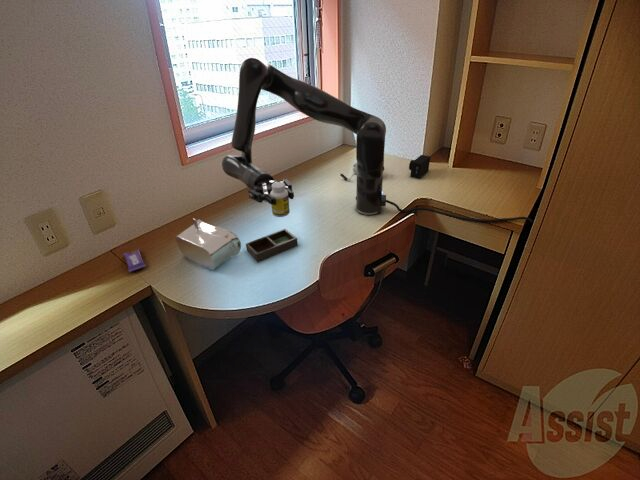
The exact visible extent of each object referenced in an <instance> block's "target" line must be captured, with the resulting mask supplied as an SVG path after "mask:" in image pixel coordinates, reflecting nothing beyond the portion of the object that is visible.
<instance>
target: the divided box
mask: <svg viewBox="0 0 640 480" xmlns="http://www.w3.org/2000/svg"><path fill="white" fill-rule="evenodd" d="M298 246H299V244H298V238H297V237H296V236H295V235H294V234H292V232H290V231H289V230H288V229H286V228H283V229H280V230H278V231H275V232H272V233H270V234H267V235H264V236H262V237H260V238H257V239H254V240H252V241H249V242H246V243H245V249H246V252H247V253H248V254H249V255H250V256H251V257H252V258H253V259H254V260H255V261H256V263H260V262H264V261H265V260H268V259H270V258H273V257H275V256H278V255H279V254H282V253H284V252H287V251H289V250H291V249H292V250H293V249H294V248H297V247H298Z"/></svg>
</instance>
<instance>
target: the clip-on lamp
mask: <svg viewBox="0 0 640 480" xmlns="http://www.w3.org/2000/svg"><path fill="white" fill-rule="evenodd" d="M384 171H385V166H384V167H383V172H384ZM352 172H353V173H352V175H351V177H350V179H348V177H347V176H346V175H345V174H344V173H340V172H339V174H340V177H341V178H342V179H343V180H345V181H348V182H349V181H351V180H352V178H353V177H354V176H357V162H355V163H354V164H353V166H352Z"/></svg>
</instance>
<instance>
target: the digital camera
mask: <svg viewBox="0 0 640 480" xmlns="http://www.w3.org/2000/svg"><path fill="white" fill-rule="evenodd" d="M430 162H431V156H430V155H424V154H420V155H419V156H417V158H415V159H411V160H410V162H409V164H408V170H409V171H410V174H409V175H410V177H409V178H413V179H417V180H420V179H422V177H423V176H424V175H426V174H427V173H428V172H429V170H430Z"/></svg>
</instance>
